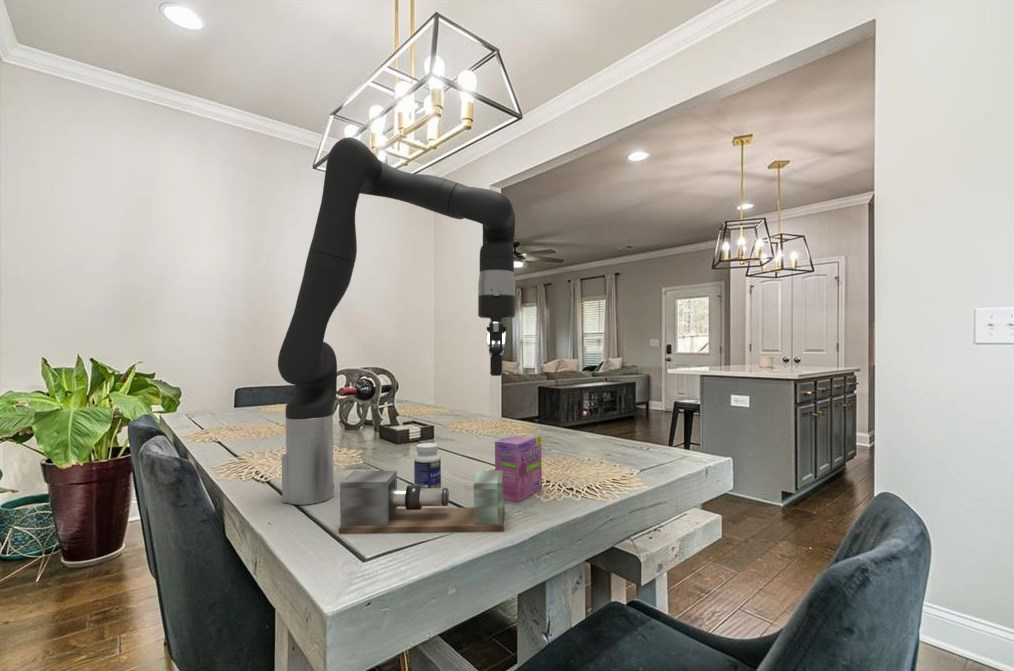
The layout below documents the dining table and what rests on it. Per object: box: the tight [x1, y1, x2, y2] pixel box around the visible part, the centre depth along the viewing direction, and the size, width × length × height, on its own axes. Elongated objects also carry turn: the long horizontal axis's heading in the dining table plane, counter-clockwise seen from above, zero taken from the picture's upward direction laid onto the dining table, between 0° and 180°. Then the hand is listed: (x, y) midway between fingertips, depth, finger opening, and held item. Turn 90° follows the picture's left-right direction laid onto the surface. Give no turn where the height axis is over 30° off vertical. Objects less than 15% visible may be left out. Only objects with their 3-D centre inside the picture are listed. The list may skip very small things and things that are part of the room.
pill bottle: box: [413, 442, 442, 488], centre depth 103 cm, size 6×6×10 cm
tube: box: [388, 484, 450, 510], centre depth 84 cm, size 18×4×4 cm, turn 89°
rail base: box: [338, 469, 506, 535], centre depth 84 cm, size 28×9×8 cm, turn 89°
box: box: [494, 432, 543, 503], centre depth 100 cm, size 10×6×12 cm, turn 148°
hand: (496, 374), depth 96 cm, fingers open, 8 cm apart
